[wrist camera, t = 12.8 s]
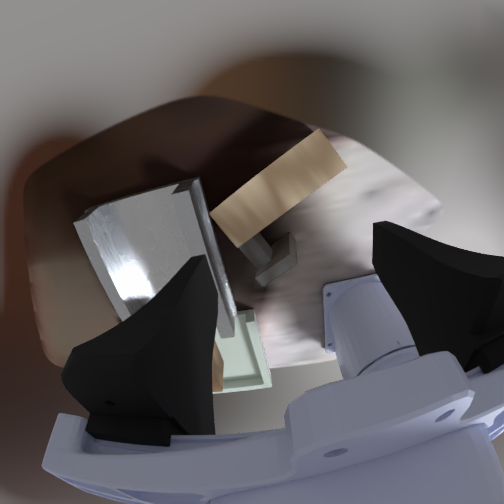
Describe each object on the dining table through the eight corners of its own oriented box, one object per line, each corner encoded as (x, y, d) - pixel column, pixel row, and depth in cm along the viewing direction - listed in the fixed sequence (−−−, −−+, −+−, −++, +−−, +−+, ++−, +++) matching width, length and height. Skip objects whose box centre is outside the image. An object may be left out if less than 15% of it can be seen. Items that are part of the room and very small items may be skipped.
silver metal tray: (238, 311, 27) (237, 336, 24) (143, 323, 27) (135, 347, 24) (200, 176, 20) (193, 189, 17) (89, 207, 21) (70, 223, 18)
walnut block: (223, 361, 30) (222, 391, 26) (189, 364, 30) (185, 393, 26) (213, 337, 28) (211, 368, 24) (176, 341, 28) (170, 371, 24)
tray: (271, 375, 32) (272, 386, 30) (170, 385, 33) (168, 395, 31) (254, 308, 27) (254, 321, 25) (131, 325, 27) (126, 336, 26)
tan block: (267, 259, 24) (357, 195, 21) (262, 287, 19) (377, 206, 16) (221, 203, 23) (312, 133, 20) (204, 217, 18) (320, 126, 15)
